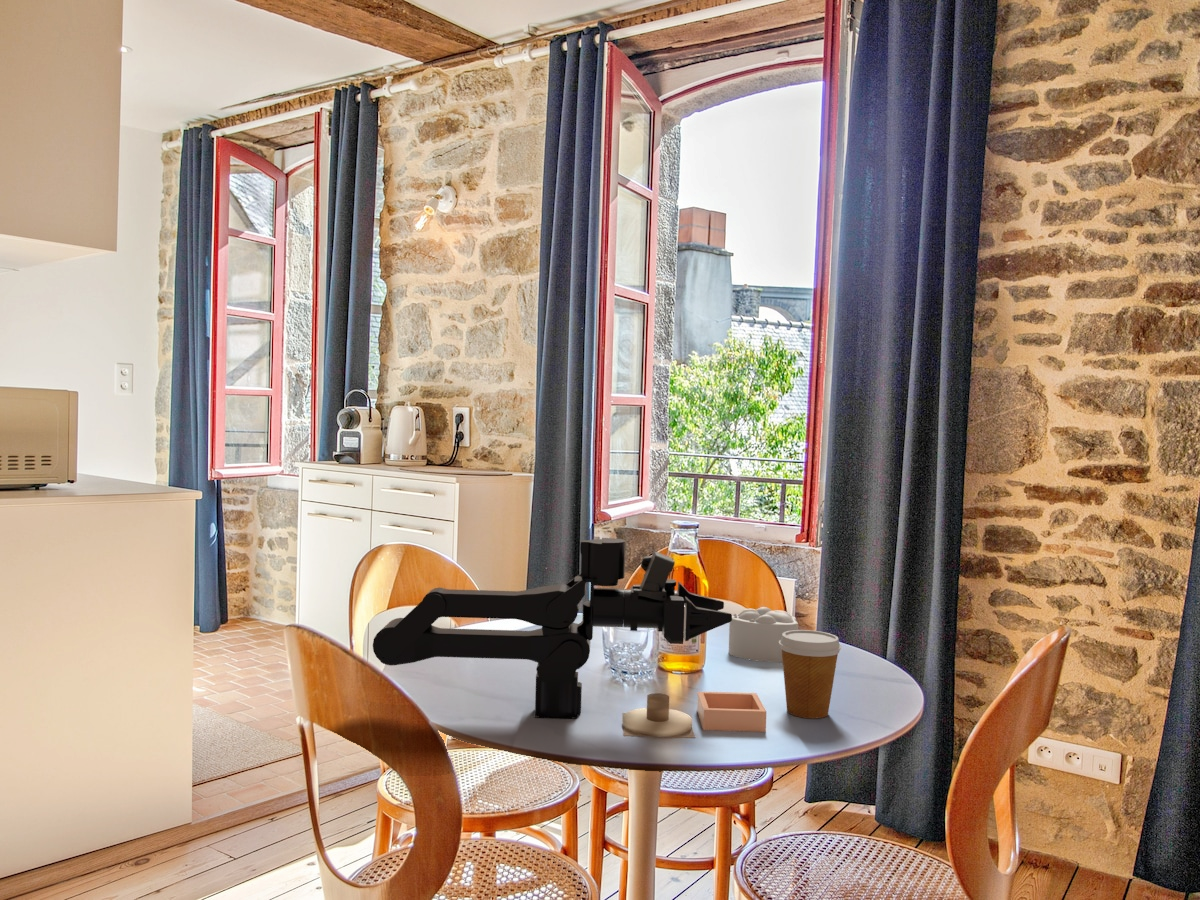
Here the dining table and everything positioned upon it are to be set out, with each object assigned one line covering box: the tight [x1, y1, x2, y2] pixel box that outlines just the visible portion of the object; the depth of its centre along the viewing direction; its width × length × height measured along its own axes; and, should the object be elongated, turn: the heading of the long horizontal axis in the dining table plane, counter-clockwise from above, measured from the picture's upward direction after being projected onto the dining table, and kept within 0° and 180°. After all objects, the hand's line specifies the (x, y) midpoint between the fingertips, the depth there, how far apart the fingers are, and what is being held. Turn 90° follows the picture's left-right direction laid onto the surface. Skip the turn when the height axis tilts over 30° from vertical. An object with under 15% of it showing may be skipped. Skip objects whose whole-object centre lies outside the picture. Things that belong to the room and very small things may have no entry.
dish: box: [696, 691, 767, 733], centre depth 138 cm, size 9×9×4 cm
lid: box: [622, 692, 693, 738], centre depth 135 cm, size 10×10×4 cm
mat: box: [622, 712, 696, 739], centre depth 135 cm, size 10×10×1 cm
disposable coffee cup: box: [779, 629, 842, 719], centre depth 144 cm, size 10×10×12 cm
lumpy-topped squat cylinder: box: [728, 606, 799, 663], centre depth 180 cm, size 10×13×9 cm
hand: (727, 611), depth 139 cm, fingers open, 9 cm apart
